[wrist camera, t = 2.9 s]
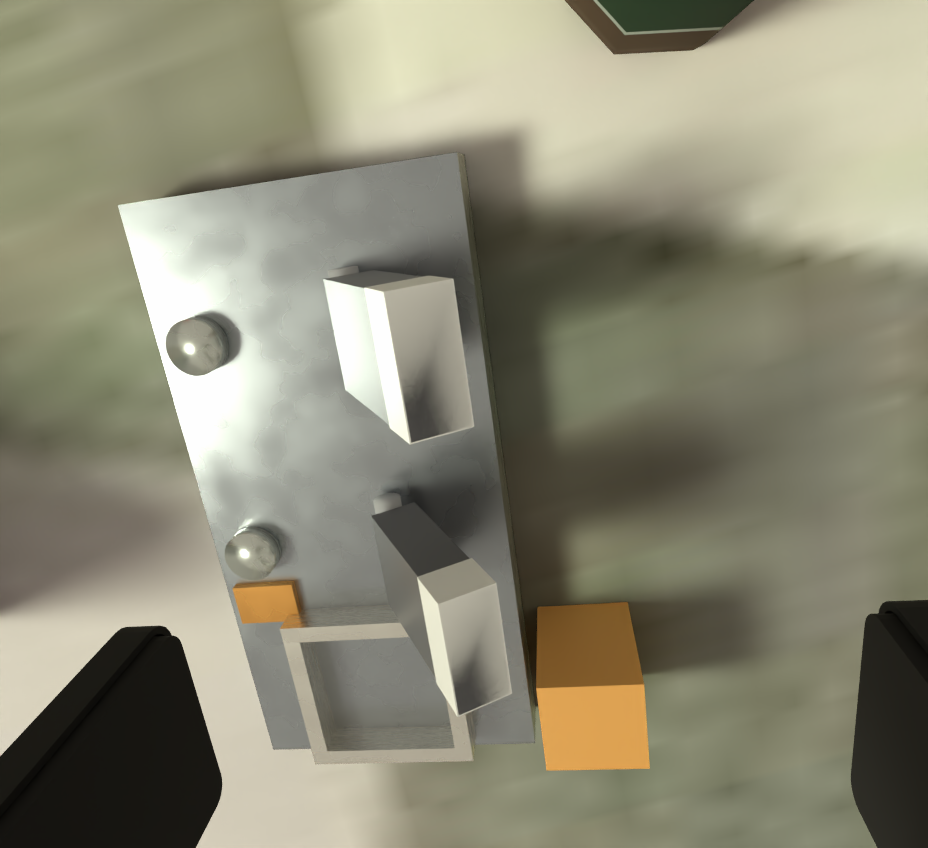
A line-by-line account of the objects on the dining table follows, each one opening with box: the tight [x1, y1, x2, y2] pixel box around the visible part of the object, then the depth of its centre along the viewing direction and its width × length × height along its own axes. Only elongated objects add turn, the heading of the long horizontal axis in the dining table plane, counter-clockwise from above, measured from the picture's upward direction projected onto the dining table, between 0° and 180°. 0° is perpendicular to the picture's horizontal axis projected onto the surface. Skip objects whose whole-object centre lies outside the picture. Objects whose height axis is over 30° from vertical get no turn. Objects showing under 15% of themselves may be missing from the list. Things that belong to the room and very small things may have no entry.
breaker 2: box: [371, 493, 512, 717], centre depth 27 cm, size 2×5×9 cm, turn 8°
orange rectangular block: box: [536, 602, 650, 770], centre depth 32 cm, size 4×4×6 cm
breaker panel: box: [118, 152, 536, 764], centre depth 31 cm, size 14×28×4 cm, turn 8°
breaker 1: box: [323, 266, 474, 444], centre depth 24 cm, size 2×5×9 cm, turn 8°
